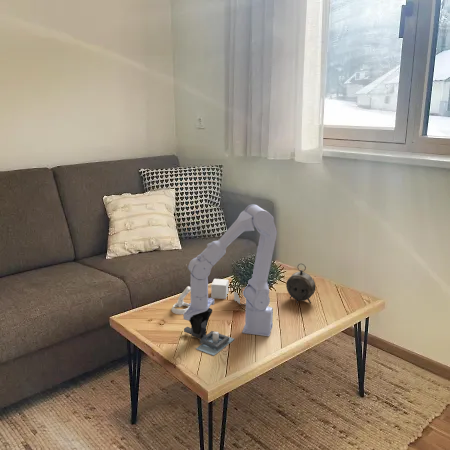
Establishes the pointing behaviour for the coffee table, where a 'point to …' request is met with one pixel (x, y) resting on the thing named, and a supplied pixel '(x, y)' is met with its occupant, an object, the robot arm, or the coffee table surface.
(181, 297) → the hook
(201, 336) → the grey block with tab
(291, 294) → the alarm clock
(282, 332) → the coffee table surface
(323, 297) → the coffee table surface
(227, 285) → the white cube
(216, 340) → the keeper
